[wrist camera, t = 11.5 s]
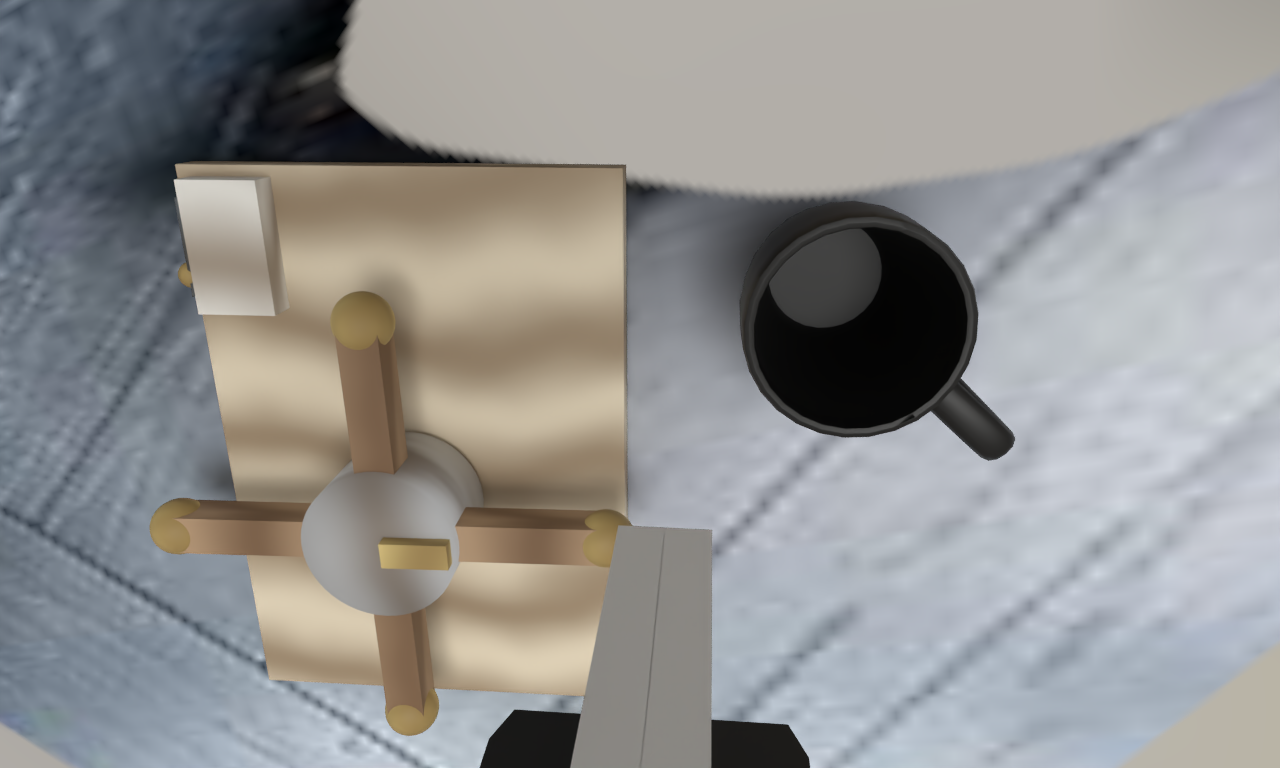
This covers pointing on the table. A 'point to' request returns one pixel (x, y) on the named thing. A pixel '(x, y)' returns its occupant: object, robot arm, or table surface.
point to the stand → (423, 380)
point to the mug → (864, 326)
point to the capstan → (389, 518)
